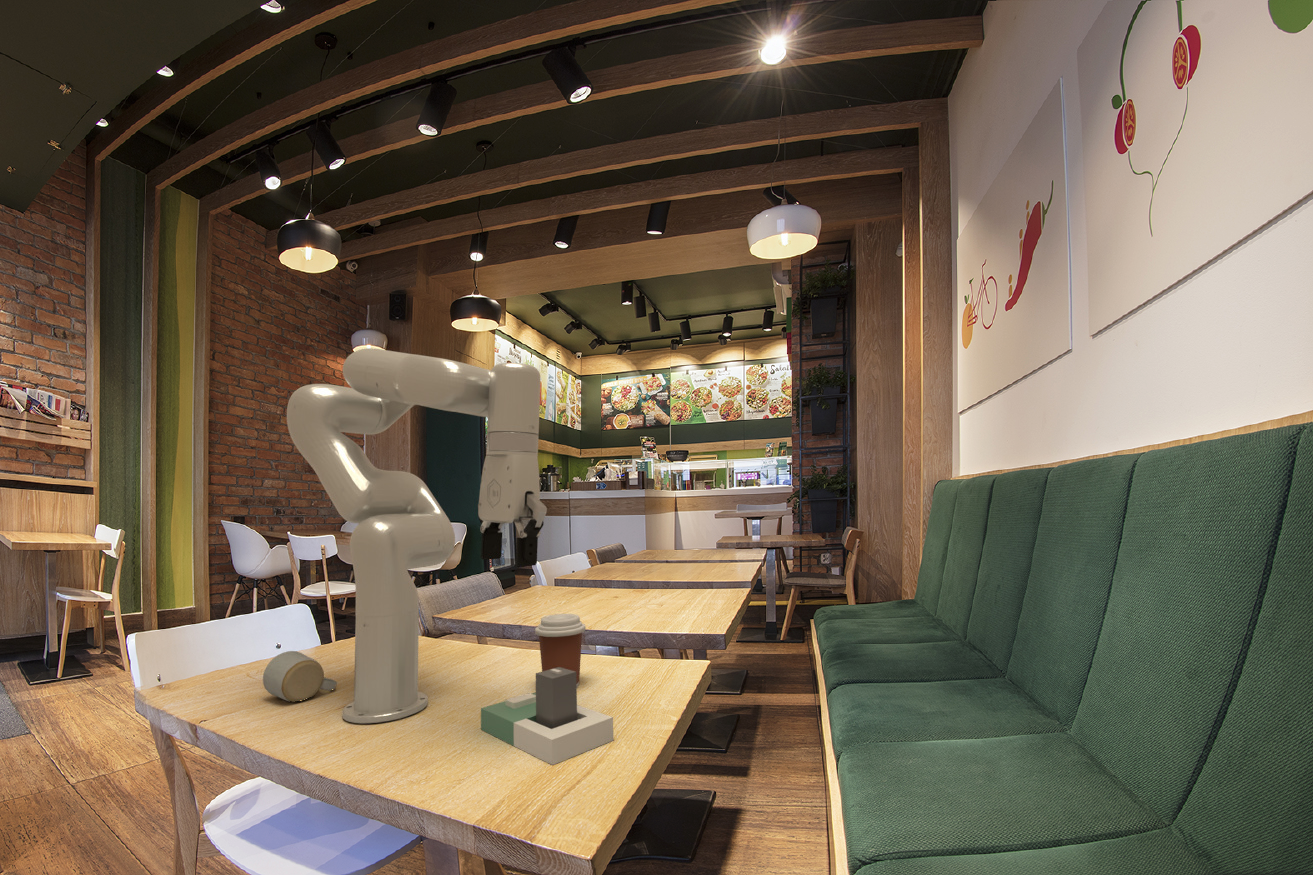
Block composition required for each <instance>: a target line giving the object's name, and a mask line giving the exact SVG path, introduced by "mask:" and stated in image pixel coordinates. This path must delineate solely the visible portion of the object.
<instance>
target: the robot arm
mask: <svg viewBox="0 0 1313 875" xmlns="http://www.w3.org/2000/svg"><path fill="white" fill-rule="evenodd" d="M342 375H343V379H345V382H346V384H348V387H347V386H343V385H336V384H335V385H334V384H331V383H330V384H329V383H312V384H306V385H304V386H301V387H299V388H298V389H296V390H295V391H294V392H292V394H291V396H290V397H289V400H288V403H287V408H286V424H287V429H288V433H289V435H290V438H291V441H292V442H293V444H294V446H295V447H296V449H297V450H298V452H299V453H300V455H301V456H302V457H303V458H304V459H305V461H306V462H307V463H308V464H309V466H310V467H311V468H312V469H313V471H314V472H315V474H316V475H317V477H318V479H319V481H320V484H321V485H322V486H323V488H324V491H325V492H326V494H327V495H328V496H329V499H330V500H331V503H332V504H333V506H334V508H335V510H336V511H337V512H338V514H339V515H340V516H341V518H343V519H344V520H345V521H347V522H349V523H352V524H357V525H356V526H355V528H354V529H353V531H352V532H351V537H350V540H349V552H350V556H351V557H350V559H351V561H352V562H351V563H352V568H353V574H354V583H355V584H354V585H355V628H354V629H355V631H354V632H355V636H354V637H355V638H354V639H355V640H354V673H353V674H354V678H353V679H354V682H353V701H351V702H350V703H348V704H346V706H344V707H343V709H342V719H344V720H345V721H346V722H349V723H353V724H375V723H377V724H378V723H385V722H390V721H394V720H399V719H402V718H406V717H408V716H412V715H414V714H416V713H419V712H421V711H422V710H424V709H426V708H425V707H427V706H428V702H429V700H428V698H429V697H428V695H427V694H426V693H425V692H422V691H419V637H420V634H419V631H420V630H419V626H420V625H419V624H420V622H419V620H420V619H419V617H420V613H419V612H420V610H419V609H420V608H419V607H420V606H419V605H420V603H419V602H420V600H419V592H418V589H417V587H416V585H415V583H414V580H413V579H412V577H411V575H410V574H409V571H408V570H411V569H419V568H420V569H421V568H426V567H427V568H428V567H432V566H437V565H440V564H442V563H444V562H445V561H447V560H448V559H449V558H450V557H451V555H452V554H453V552H454V549H455V546H456V534H455V531H454V527H453V525H452V523H451V521H450V519H449V517H448V516H447V515H446V512H445V511H444V510H443V508H442V506H441V505H440V503H439V502H438V501H437V499H436V498H435V496H434V495H433V493H432V492H431V490H430V489H429V487H428V485H427V484H426V483H425V482H424V480H422V479H421V478H420V477H418V475H415V474H413V473H412V472H408V471H403V470H401V471H400V470H385V469H380V468H379V467H378V468H377V467H375V465H373V463H372V462H371V460H370V459H369V458H368V457H367V456H368V455H366V453H365V451H364V450H363V448H361V447H360V445H359V444H357V443H356V442H355V441H354V440H352V439H351V438H349V437H348V436H346V435H345V434H344V433H347V434H348V433H349V434H356V435H357V434H358V435H359V434H360V435H370V436H371V435H377V434H380V433H383V432H385V431H386V430H388V429H389V428H390V427H391V426H392V425H393V424H395V423H396V422H397V421H398V420H399V419H400V418H401V417H402V416H404V415H405V414H406V413H407V412H408V411H409V410H410V409H412V408H413V407H414V406H422V407H425V408H431V409H435V410H436V409H437V410H442V411H446V412H455V413H460V414H466V415H471V416H477V417H481V418H482V417H485V418H487V429H486V449H485V450H486V453H485V454H486V456H485V458H484V462H483V467H482V471H481V472H482V474H481V479H480V489H479V497H478V503H477V508H478V510H477V511H478V512H477V513H478V520H479V523H480V532H481V545H480V546H481V547H480V548H481V549H480V559H481V560H484V561H485V560H497V559H501V558H502V554H503V553H502V552H503V551H502V548H503V532H502V531H500V530H501V528H502V526H503V525H504V524H512V523H513V522H514V525H515V527H516V529H517V533H518V535H519V537H516V543H515V544H516V545H515V546H516V547H515V565H516V567H522V568H523V567H530V566H536V565H537V563H538V543H539V542H538V541H539V540H538V539H539V538H540V537H541V530H542V528H543V527H544V525H545V523H544V521H545V518H546V514H547V512H548V508H547V506H546V504H544V503H543V502H542V501H541V499H540V497H541V492H540V469H539V460H538V457H539V455H538V454H539V432H540V431H539V429H540V407H541V406H540V404H541V400H540V399H541V372H540V371H539V369H538V368H536V367H535V366H533V365H530V364H526V363H520V362H519V363H518V362H502V363H498V364H495V365H494V366H493V367H492V368H491V369H488V368H483V367H481V366H480V367H479V366H476V365H472V364H468V363H464V362H461V361H457V360H451V359H447V358H441V357H434V356H427V355H421V354H413V353H407V352H400V351H392V350H385V349H380V348H371V347H370V348H368V347H367V348H362V349H358V350H355V351H354V352H352V353H351V354H349V355H348V356H347V357H346V359H345V360H344V362H343V365H342ZM349 386H350V387H349ZM525 525H526V526H525Z"/></svg>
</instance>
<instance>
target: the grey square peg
mask: <svg viewBox="0 0 1313 875" xmlns="http://www.w3.org/2000/svg"><path fill="white" fill-rule="evenodd" d="M577 689H578V687H577V684H576V672H575V671H572V670H568V669H565V668H561V667H557V668H554V669H550V670H546V671H542V670H541V671H540V672H536V673H535V692H536V723H538V724H540V725H543V726H545V727H548V728H550V729H553V728H556V727H559V726H562V725H565V724H568V723H570V722H573V721H576V720H577V705H578V699H577V698H578V696H577V695H578V694H577V691H578V690H577Z"/></svg>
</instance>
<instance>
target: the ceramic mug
mask: <svg viewBox="0 0 1313 875" xmlns="http://www.w3.org/2000/svg"><path fill="white" fill-rule="evenodd" d="M324 672H325V671H324V668H323V667H322V665H321V664H320V662H318V661H317V660H316V659H314V658H312V657H311V656H310V657H309V656H308V655H306V654H304V653H302V652H300V651H297V650H296V651H295V650H288V651H285V652H284V651H283V652H282V653H280V654H277V655H276V656H274V657H273V658H272V659H271V660H270V661H269V663H268V664H267V665H266V667H265V669H264V672H263V675H262V684H263V687H264V689H265V690H266V691H267V693H268V694H270V695H273V696H275V697H277V698H279V699H282V700H285V701H286V702H290V701H292V702H291V703H296V702H295V701H300V700H304V699H306V698H309V697H311V698H312V697H313V696H315V695H316V694H317V693H318V692H319V691H320V690H324V691H329V692H330V690H332V689H334V690H335V688H336V687H337V686H336V685H337V684H338V682H337V681H336V680H334V679H331V678H328V677H325V673H324ZM309 699H310V698H309Z"/></svg>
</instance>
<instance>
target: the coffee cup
mask: <svg viewBox="0 0 1313 875" xmlns="http://www.w3.org/2000/svg"><path fill="white" fill-rule="evenodd" d="M580 619H581V618H580V615H578V614H576V613H574V614H573V613H557V614H556V613H555V614H549V615H545V616H543V617H541V618H540V623H539V624H538V626H537V627H535V629H534V634H535V636H536V635H537V636H538V639H539V640H538V641H539V650H540V651H539V652H540V664H541V672H542V671H546V670H550V669H554V668H557V667H561V668H565V669H568V670H572V671H575V672H576V684H577V688H578V687H579V686H580V678H581V677H580V674H581V656H582V641H583V640H582V638H583V633H584V632H585V631H587V630H586V628H587V627H586V625H585V624H584V623H582V621H581V620H580Z"/></svg>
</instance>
